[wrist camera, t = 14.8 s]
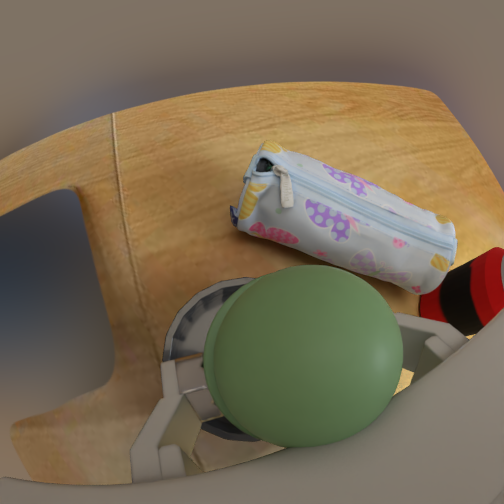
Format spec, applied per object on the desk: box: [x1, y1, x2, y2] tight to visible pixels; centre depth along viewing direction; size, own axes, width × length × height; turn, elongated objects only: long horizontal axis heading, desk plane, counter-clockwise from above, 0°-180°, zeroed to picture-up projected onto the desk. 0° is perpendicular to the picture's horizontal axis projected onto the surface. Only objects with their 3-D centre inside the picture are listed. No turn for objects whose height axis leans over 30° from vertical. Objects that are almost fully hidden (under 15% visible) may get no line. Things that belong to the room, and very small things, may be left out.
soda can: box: [420, 247, 504, 336], centre depth 22 cm, size 8×8×12 cm
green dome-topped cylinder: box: [203, 265, 403, 448], centre depth 10 cm, size 5×5×12 cm
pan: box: [162, 277, 260, 442], centre depth 22 cm, size 13×13×4 cm
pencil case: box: [230, 140, 457, 295], centre depth 25 cm, size 21×9×10 cm, turn 70°
